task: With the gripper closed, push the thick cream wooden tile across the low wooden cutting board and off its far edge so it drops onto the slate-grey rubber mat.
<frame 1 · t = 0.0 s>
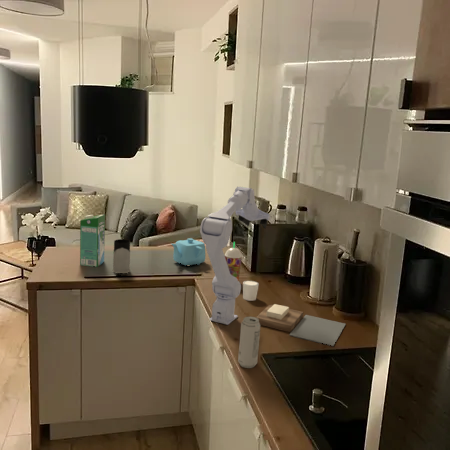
hand: (257, 225, 204), 32 cm above the countertop, tool tilted 50°, fingers open, 7 cm apart
mat: (318, 329, 181), on the countertop
cream rectangular block: (277, 313, 187), point 2 cm above the countertop, touching wooden cutting board
glass holder: (121, 269, 236), on the countertop
smoothie: (231, 283, 228), on the countertop
white cup: (249, 298, 209), on the countertop
energy drink can: (247, 364, 151), on the countertop
teapot: (186, 264, 253), on the countertop
milk carton: (92, 264, 242), on the countertop
wooden cutting board: (279, 320, 187), on the countertop
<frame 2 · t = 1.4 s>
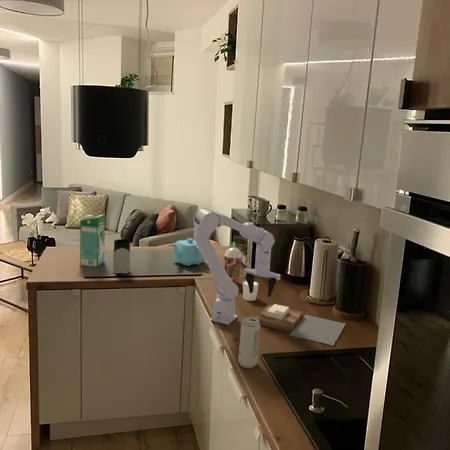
hand: (260, 294, 190), 9 cm above the countertop, tool pointing down, fingers open, 7 cm apart
nothing on the countertop moved.
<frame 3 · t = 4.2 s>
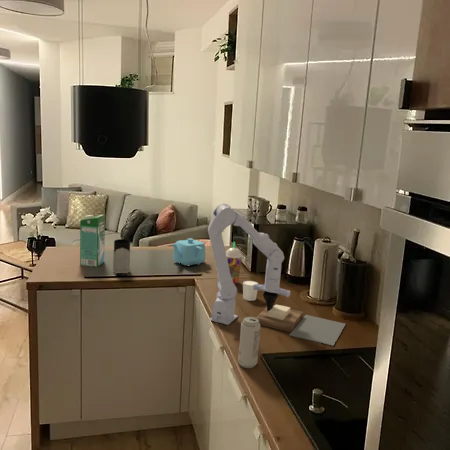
hand: (269, 310, 188), 3 cm above the countertop, tool pointing down, fingers closed
cream rectangular block: (279, 314, 187), point 3 cm above the countertop, touching wooden cutting board, gripper
everything else where it was.
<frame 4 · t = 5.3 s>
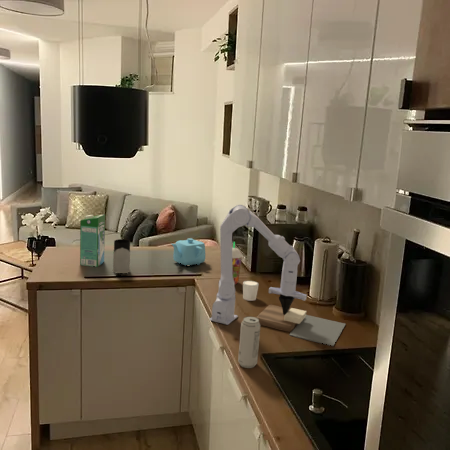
hand: (285, 313, 186), 3 cm above the countertop, tool pointing down, fingers closed
cream rectangular block: (295, 318, 184), point 3 cm above the countertop, touching wooden cutting board, gripper
everything else where it was.
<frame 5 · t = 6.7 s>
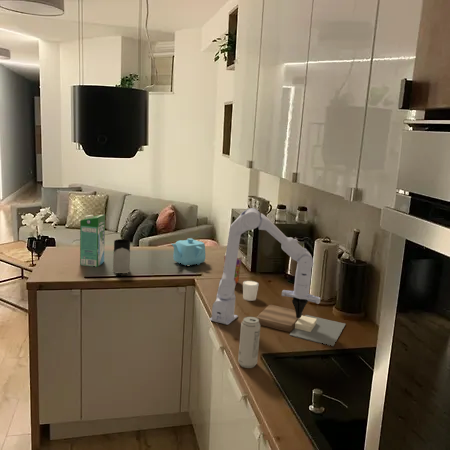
hand: (298, 317, 184), 3 cm above the countertop, tool pointing down, fingers closed
cream rectangular block: (305, 325, 183), resting on mat
everything else where it was.
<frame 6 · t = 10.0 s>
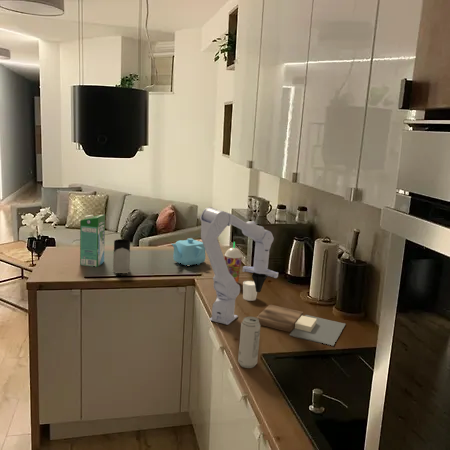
hand: (258, 291, 194), 8 cm above the countertop, tool pointing down, fingers closed
nothing on the countertop moved.
at the end: cream rectangular block inside the target area (6.0 cm from its centre), resting on mat; cream rectangular block touching mat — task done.
